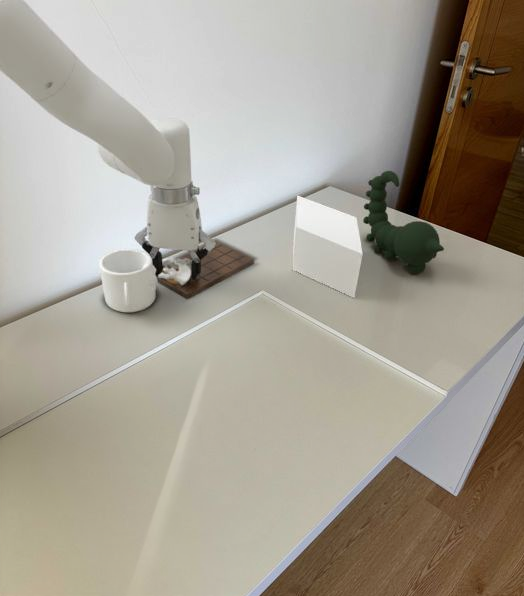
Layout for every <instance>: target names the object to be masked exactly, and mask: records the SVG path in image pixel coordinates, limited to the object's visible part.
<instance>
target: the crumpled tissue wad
mask: <svg viewBox="0 0 524 596" xmlns="http://www.w3.org/2000/svg"><path fill="white" fill-rule="evenodd" d="M177 258H178V259H177ZM177 258H175V257H172V256H171V257H167V258H162V263H163V265H164V266H165V268H164V269H163V271H164V273H166V274H164V273H161V274H159V275H158V277H159V278H164V279H174V280H175V281H177V282H179V283H180V285H184V284H185V283H186V282H187V281H188V280H189V278H190V276H191V272H192V268H191V263H192V260H190V259H188V258H185V259H179V257H177ZM175 259H176V260H175ZM167 265H170V266H171V267H172V268H171V269H168V268H167ZM177 268H179V271H175V270H176V269H177Z"/></svg>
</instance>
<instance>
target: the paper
mask: <svg viewBox="0 0 524 596" xmlns="http://www.w3.org/2000/svg"><path fill="white" fill-rule="evenodd" d="M357 218H358V217H357V216H354V215H351V214H348V213H346V212H343V211H340V210H338V209H335V208H332V207H330V206H326V205H324V204H321V203H319V202H316V201H313V200H311V199H308V198H305V197H302V196H300V195H297V196H296V206H295V216H294V227H293V243H294V244H293V243H292V244H293V245H292V246H293V247H292V266H291V267H292V269H291V270H292V271H294V272H296V271H297V272H296V273H298V272H299V274H300V273H301V275H303V276H305V277H307V278H309V279H311V280H313V279H314V280H313V281H315V282H318V283H320V284H322V283H323V284H322V285H324V284H325V286H326V285H327V286H326V287H328V286H329V288H331V289H333V288H334V289H333V290H335V289H336V290H335V291H337V290H338V291H337V292H339V291H340V292H339V293H341V292H342V293H341V294H344V293H345V294H344V295H346V294H347V295H346V296H348V295H349V297H350V296H351V297H350V298H352V297H353V298H352V299H355V298H356V292H357V286H358V281H359V275H360V270H361V265H362V260H363V259H362V258H363V249H362V243H361V236H360V231H359V224H358V219H357Z"/></svg>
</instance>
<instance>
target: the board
mask: <svg viewBox="0 0 524 596" xmlns="http://www.w3.org/2000/svg"><path fill="white" fill-rule="evenodd" d="M214 241H215V242H216V244H215V247H214V248H213V249H212V250H211V251H210V252H209V253H208V254H207V255H206V256H205V257H204V258H202V259H201V273H200V274H198V276H197V278H196V280H193V279H192V272H191V276H190V278H189V280H188V281H187V282H186V283H185V284H184V285H180V283H179V282H177V281H175V280H174V279H164V278H159V277H158V276H156V277H157V280H158V282H157V284H160V285H162V286H163V287H165V288H167V289H169V290H170V291H173V292H174V293H176V294H177V295H178V296H181V297H183V298H184V299H186V300H189V299H190V298H192V297H194V296H196V295H198V294H200V293H201V292H203V291H205V290H207V289H209V288H211V287H213V286H215V285H216V284H218V283H221V282H222V281H224V280H225V279H228V278H230V277H232V276H233V275H235V274H237V273H239V272H241V271H243V270H244V269H246V268H248V267H250V266H252V265H254V264H255V258H253V257H251V256H249V255H247V254H245V253H243V252H241V251H239V250H237V249H234V248H232V247H231V246H228V245H226V244H224V243H222V242H220V241H218V240H214ZM205 246H206V244H204V245H203V246H201V247H199V248H200V250H201V249H202V248H203V247H205ZM178 258H179V259H185V258H188V259H190V260H192V261H193V259H192V257H191V255H190V253H189V252H188V253H186V254H184V255H182V256H179V257H177V258H175V260H176V259H178ZM164 268H165V266H164V264H163V269H164ZM167 268H168V269H171V268H172V267H171V266H170V265H167ZM175 271H179V268H177V269H176V270H175ZM161 273H164V271H163V270H162V272H161ZM161 273H160V274H161ZM164 274H166V273H164Z"/></svg>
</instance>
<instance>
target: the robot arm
mask: <svg viewBox="0 0 524 596" xmlns="http://www.w3.org/2000/svg"><path fill="white" fill-rule="evenodd" d="M0 72H1V73H2V74H3V75H5V76H6V77H7V78H9V79H10V80H11V81H12V82H13V83H14V84H15V85H17V86H18V87H19V88H20V89H21V90H22V91H24V92H25V93H26V94H27V95H28V96H29V97H30V98H31V99H32V100H34V101H35V102H36V103H37V104H38V106H40V107H41V108H42V109H44V110H45V111H46V112H47V113H48V114H49V115H50V116H52V117H54V118H55V119H56V120H58V121H59V122H61V123H62V124H64V125H65V126H67V127H69V128H70V129H73V130H74V131H76V132H78V133H80V134H81V135H84V136H85V137H87V138H89V139H90V140H92V141H93V142H95V143H96V144H97V150H98V154H99V156H100V158H101V159H102V161H103V162H104V163H105V164H106V165H107V166H108V167H110V168H112V169H113V170H115V171H117V172H120V173H122V174H124V175H126V176H128V177H129V178H132V179H134V180H136V181H138V182H140V183H142V184H145V185H146V186H150V195H149V196H148V199H147V209H146V226H145V227H143V228H142V229H141V230H140V231H138V232H137V233H136V234H135V235H134V241H136V243H138V244H139V246H141V248H142V249H143V251H144V252H146V253H147V254H149V255H150V256H151V258H152V263H153V266H154V267H155V268H156V273H155V275H156V276H158V275H159V274H160V273H161V272H162V270H163V265H164V264H163V254H162V251H160V249H165V250H174V251H186V252H188V253H190V255H191V257H192V259H193V261H192V263H191V268H192V279H193V280H196V278H197V276H198V274H200V273H201V259H202V258H204V257H205V256H206V255H207V254H208V253H209V252H210V251H211V250H212V249H213V248H214V247H215V244H216V242H215V241H216V240H214V239H213V238H211V236H209V235H208V234H207V233H206V232H205V231H204V230H203V225H202V218H201V217H202V216H201V212H200V211H201V210H200V205H199V201H198V197H197V196H200V192H201V189H200V187H199V186H197V187H196V186H195V185H194V182H193V180H192V159H191V158H192V157H191V137H190V128H189V126H188V125H187V123H186V122H185V121H183V120H181V119H178V118H173V117H160V118H155V119H152V120H149V119H148V118H147V117H146V116H145V115H144V114H143V113H142V112H140V110H138V109H137V108H136V107H135V106H134V105H133V104H131V103H130V102H129V100H126V98H124V97H123V96H122V95H120V93H118V92H117V91H116V90H115V89H113V88H112V87H111V86H110V85H109V84H108V83H107V82H106V81H105V80H104V79H102V78H101V77H100V76H98V75H97V74H96V73H95V72H93V71H92V70H91V69H90V68H89V67H88V66H87V65H86V64H85V63H84V62H83V61H82V60H81V59H80V58H79V57H78V56H77V55H76V54H75V53H74V52H73V50H71V49H70V48H69V47H68V45H67V44H66V43H65V42H64V41H63V40H62V39H61V38H60V37H59V36H58V35H57V34H56V32H54V31H53V29H52V28H51V27H49V25H48V24H47V23H46V22H45V21H44V19H42V18H41V17H40V15H38V14H37V12H36V11H35V10H34V9H33V8H32V7H31V6H30V5H29V3H27V2H26V1H25V0H0ZM146 237H147V238H146ZM200 242H202V243H203V244H204V246H205V245H206V246H205V247H203V246H202V247H203V248H202V249H201V250H200V248H201V247H200V246H199V243H200Z"/></svg>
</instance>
